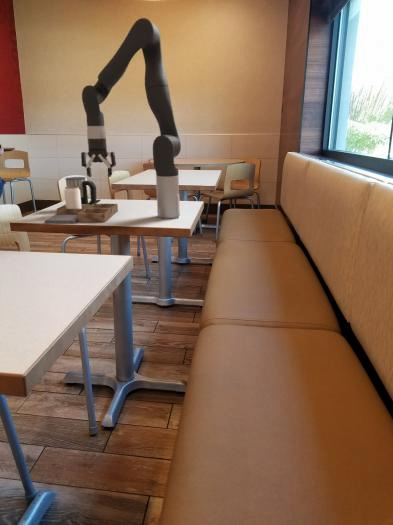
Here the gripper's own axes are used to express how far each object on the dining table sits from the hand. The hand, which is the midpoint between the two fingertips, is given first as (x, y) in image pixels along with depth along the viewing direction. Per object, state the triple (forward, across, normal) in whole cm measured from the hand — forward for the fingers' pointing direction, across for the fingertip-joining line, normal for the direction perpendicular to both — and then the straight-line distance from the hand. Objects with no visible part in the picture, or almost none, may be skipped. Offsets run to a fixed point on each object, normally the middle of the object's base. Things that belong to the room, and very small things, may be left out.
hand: (99, 176), depth 176 cm
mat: (+16, +12, +14) cm, 24 cm away
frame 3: (+16, 0, 0) cm, 16 cm away
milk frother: (+16, +12, -13) cm, 24 cm away
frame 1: (+16, +12, +2) cm, 20 cm away
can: (+16, +12, +2) cm, 20 cm away
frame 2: (+16, 0, +12) cm, 20 cm away
